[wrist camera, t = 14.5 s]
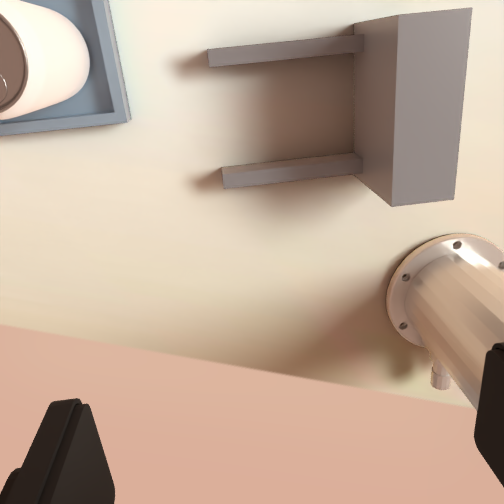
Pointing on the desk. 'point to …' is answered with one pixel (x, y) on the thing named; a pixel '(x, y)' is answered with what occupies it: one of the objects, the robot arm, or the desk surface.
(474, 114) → the desk surface
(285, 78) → the desk surface
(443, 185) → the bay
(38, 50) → the can
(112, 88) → the tray
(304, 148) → the desk surface
